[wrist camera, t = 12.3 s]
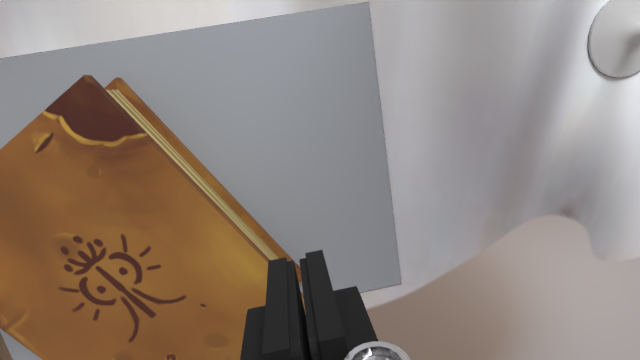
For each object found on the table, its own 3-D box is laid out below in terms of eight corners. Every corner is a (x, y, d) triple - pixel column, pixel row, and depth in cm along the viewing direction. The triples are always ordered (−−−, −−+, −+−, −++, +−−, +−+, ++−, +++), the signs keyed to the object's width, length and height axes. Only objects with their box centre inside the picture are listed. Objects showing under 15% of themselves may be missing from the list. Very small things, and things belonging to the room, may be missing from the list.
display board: (367, 2, 29) (376, -7, 26) (400, 282, 36) (410, 297, 33) (-132, 79, 26) (-178, 78, 24) (4, 366, 33) (-20, 389, 30)
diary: (-44, 223, 30) (-119, 254, 24) (122, 77, 28) (83, 74, 23) (160, 388, 35) (137, 443, 30) (305, 273, 34) (310, 308, 28)
